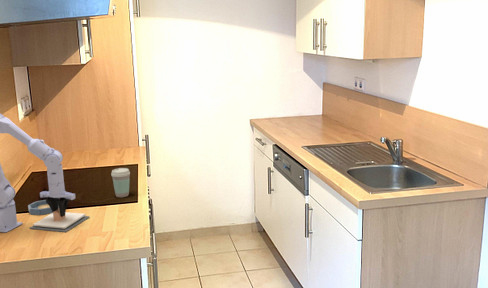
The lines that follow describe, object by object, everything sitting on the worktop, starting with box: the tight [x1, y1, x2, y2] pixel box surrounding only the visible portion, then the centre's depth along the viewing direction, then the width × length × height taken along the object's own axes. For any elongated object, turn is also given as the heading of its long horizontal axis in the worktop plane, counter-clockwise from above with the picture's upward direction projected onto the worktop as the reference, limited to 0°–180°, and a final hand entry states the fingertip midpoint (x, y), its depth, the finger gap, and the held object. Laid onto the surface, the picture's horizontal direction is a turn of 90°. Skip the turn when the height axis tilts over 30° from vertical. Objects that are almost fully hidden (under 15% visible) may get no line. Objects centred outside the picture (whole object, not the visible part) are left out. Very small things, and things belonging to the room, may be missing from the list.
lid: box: [32, 209, 87, 229], centre depth 198 cm, size 14×14×4 cm
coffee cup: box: [110, 167, 131, 198], centre depth 231 cm, size 8×8×12 cm
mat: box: [29, 215, 90, 233], centre depth 199 cm, size 16×16×1 cm
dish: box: [27, 199, 59, 216], centre depth 214 cm, size 12×12×2 cm
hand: (59, 215), depth 198 cm, fingers closed on lid, 2 cm apart
